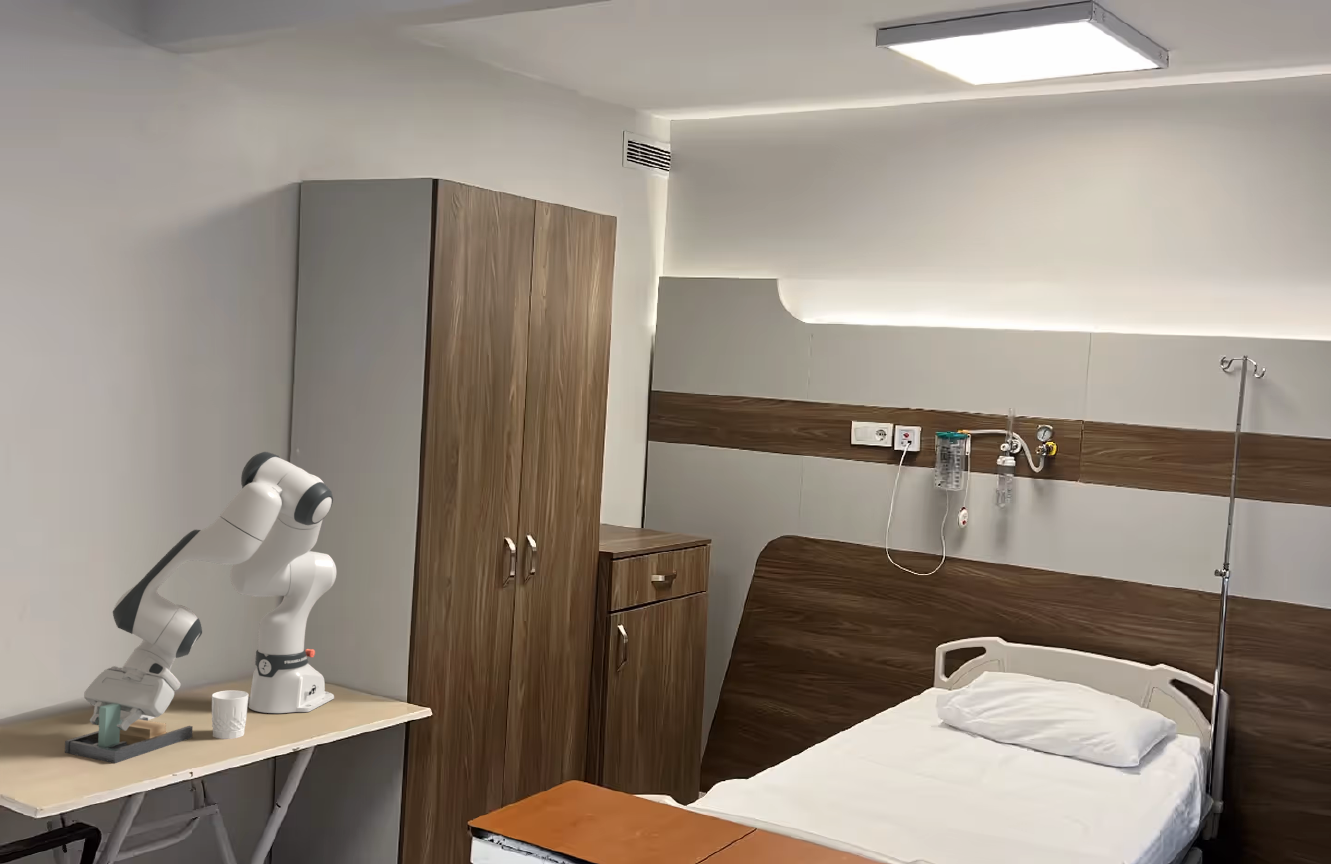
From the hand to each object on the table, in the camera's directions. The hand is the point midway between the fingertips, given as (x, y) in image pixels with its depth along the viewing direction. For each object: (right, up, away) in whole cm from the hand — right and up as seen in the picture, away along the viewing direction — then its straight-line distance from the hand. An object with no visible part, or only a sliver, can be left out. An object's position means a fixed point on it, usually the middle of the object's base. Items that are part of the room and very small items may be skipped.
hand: (107, 726), depth 260 cm
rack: (+2, -6, +6) cm, 9 cm away
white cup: (+19, -7, +18) cm, 27 cm away
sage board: (0, -6, +1) cm, 6 cm away
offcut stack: (+3, -6, +9) cm, 11 cm away
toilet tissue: (-6, -5, +29) cm, 30 cm away
